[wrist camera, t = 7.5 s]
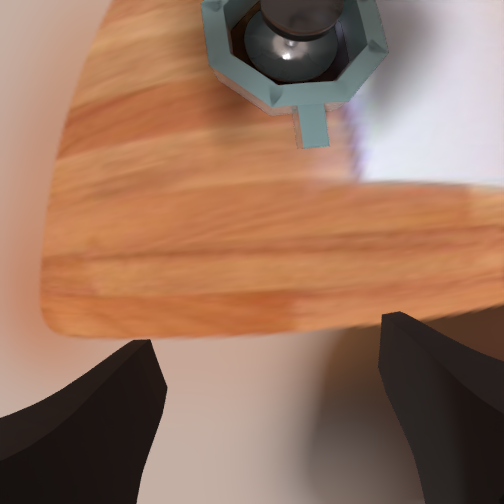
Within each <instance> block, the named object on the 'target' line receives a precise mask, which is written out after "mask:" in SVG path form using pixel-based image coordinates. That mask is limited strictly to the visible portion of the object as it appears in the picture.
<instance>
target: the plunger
mask: <svg viewBox="0 0 504 504" xmlns="http://www.w3.org/2000/svg"><path fill="white" fill-rule="evenodd" d="M260 5H261V10H259V11H258V12H257V13H256V14H255V15H254V16H253V17H252V18H251V19H250V21H249V23H248V25H247V27H246V30H245V37H244V40H245V47H246V52H247V54H248V57H249V59H250V60H251V62H252V63H253V64H254V66H255V67H256V68H257V69H258V70H259V71H261V72H262V73H263V74H265V75H266V76H268V77H270V78H272V79H275V80H278V81H282V82H288V83H299V82H305V81H309V80H312V79H314V78H316V77H318V76H320V75H321V74H322V73H324V72H325V71H326V70H327V69H328V67H329V66H330V65H331V63H332V62H333V60H334V58H335V56H336V53H337V48H338V40H337V35H336V32H335V30H334V25H335V23H336V22H337V20H338V18H339V17H340V15H341V13H342V10H343V6H344V0H260Z"/></svg>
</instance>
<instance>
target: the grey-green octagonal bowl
mask: <svg viewBox="0 0 504 504" xmlns="http://www.w3.org/2000/svg"><path fill="white" fill-rule="evenodd" d="M258 1H260V0H204V1H203V2H202V3H201V10H202V17H203V25H204V32H205V40H206V47H207V54H208V61H209V66H210V68H211V69H212V71H213V72H214V74H215V75H216V77H217V78H218V80H219V81H220V82H222V83H223V84H225V85H226V86H228V87H229V88H231V89H232V90H234V91H235V92H237V93H238V94H240V95H241V96H243V97H244V98H246V99H247V100H248V101H250V102H251V103H253V104H254V105H256V106H257V107H258V108H260V109H261V110H263V111H264V112H265V113H267V114H268V115H270V116H275V115H284V114H292V116H293V123H294V130H295V137H296V144H297V149H305V148H315V147H326V146H330V144H329V136H328V129H327V121H326V114H325V111H333V110H335V109H336V108H338V107H340V106H342V105H344V104H345V103H347V102H349V101H350V99H351V98H352V97H353V96H354V94H355V93H356V92H357V91H358V90H359V88H360V87H361V86H362V85H363V83H364V82H365V81H366V80H367V79H368V77H369V76H370V75H371V74H372V72H373V71H374V70H375V69H376V68H377V66H378V65H379V64H380V63H381V62H382V60H383V59H384V58H385V57H386V55H387V54H388V48H387V44H386V39H385V35H384V31H383V27H382V23H381V19H380V15H379V12H378V8H377V5H376V1H375V0H344V6H343V10H342V13H341V15H340V17H339V18H338V21H339V22H341V25H342V29H343V33H344V38H345V43H346V47H347V52H348V57H349V63H348V64H347V66H346V67H345V68H344V69H343V70H342V72H341V73H340V74H339V75H338V76H337V77H336V79H335V80H334V81H330V82H312V83H299V84H287V85H277V84H275V83H274V82H272V81H271V80H270V79H268V78H267V77H265V76H264V75H262V74H261V73H259V72H258V71H256V70H255V69H253V68H252V67H250V66H249V65H247V64H246V63H244V62H243V61H241V60H239V59H238V58H236V57H235V56H234V52H233V46H232V39H231V33H230V31H231V30H232V28H233V27H234V26H235V25H236V24H237V23H238V22H239V21H240V20H241V19H242V18H243V16H244V15H245V14H246V13H247V12H248V11H249V10H250V9H251V8H252V7H253V6H254V5H255V4H256V3H257V2H258Z"/></svg>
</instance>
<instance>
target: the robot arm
mask: <svg viewBox="0 0 504 504" xmlns="http://www.w3.org/2000/svg"><path fill="white" fill-rule="evenodd" d="M378 368H379V372H380V375H381V378H382V382H383V385H384V388H385V391H386V394H387V396H388V398H389V400H390V403H391V405H392V407H393V409H394V411H395V413H396V416H397V418H398V420H399V422H400V425H401V426H402V429H403V431H404V433H405V435H406V438H407V440H408V442H409V445H410V447H411V450H412V453H413V455H414V459H415V462H416V466H417V469H418V473H419V477H420V481H421V485H422V490H423V494H424V499H425V504H504V361H501V360H498V359H495V358H493V357H490V356H487V355H485V354H482V353H480V352H478V351H475V350H473V349H471V348H469V347H467V346H465V345H462V344H460V343H459V342H457V341H455V340H453V339H451V338H449V337H447V336H445V335H443V334H441V333H440V332H438V331H436V330H434V329H432V328H431V327H429V326H427V325H425V324H423V323H422V322H420V321H418V320H416V319H414V318H413V317H411V316H409V315H407V314H405V313H403V312H400V311H399V312H393V313H388V314H382V322H381V339H380V351H379V362H378ZM166 393H167V385H166V382H165V380H164V377H163V374H162V372H161V369H160V366H159V363H158V361H157V358H156V355H155V352H154V349H153V346H152V343H151V340H150V339H147V340H133V341H131V342H129V343H127V344H126V345H124V346H123V347H122V348H120V349H119V350H117V351H116V352H114V353H113V354H112V355H110V356H109V357H108V358H106V359H105V360H104V361H102V362H101V363H99V364H98V365H96V366H95V367H94V368H92V369H91V370H90V371H88V372H87V373H85V374H84V375H83V376H81V377H79V378H78V379H77V380H75V381H73V382H72V383H70V384H69V385H67V386H66V387H65V388H63V389H61V390H60V391H58V392H56V393H55V394H53V395H51V396H49V397H47V398H45V399H44V400H42V401H40V402H38V403H36V404H34V405H32V406H29V407H27V408H24V409H22V410H20V411H17V412H15V413H12V414H10V415H7V416H5V417H2V418H0V504H136V503H137V497H138V492H139V487H140V481H141V477H142V473H143V469H144V466H145V463H146V460H147V457H148V454H149V451H150V448H151V446H152V443H153V440H154V437H155V434H156V431H157V429H158V426H159V423H160V420H161V417H162V414H163V409H164V404H165V399H166Z"/></svg>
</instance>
